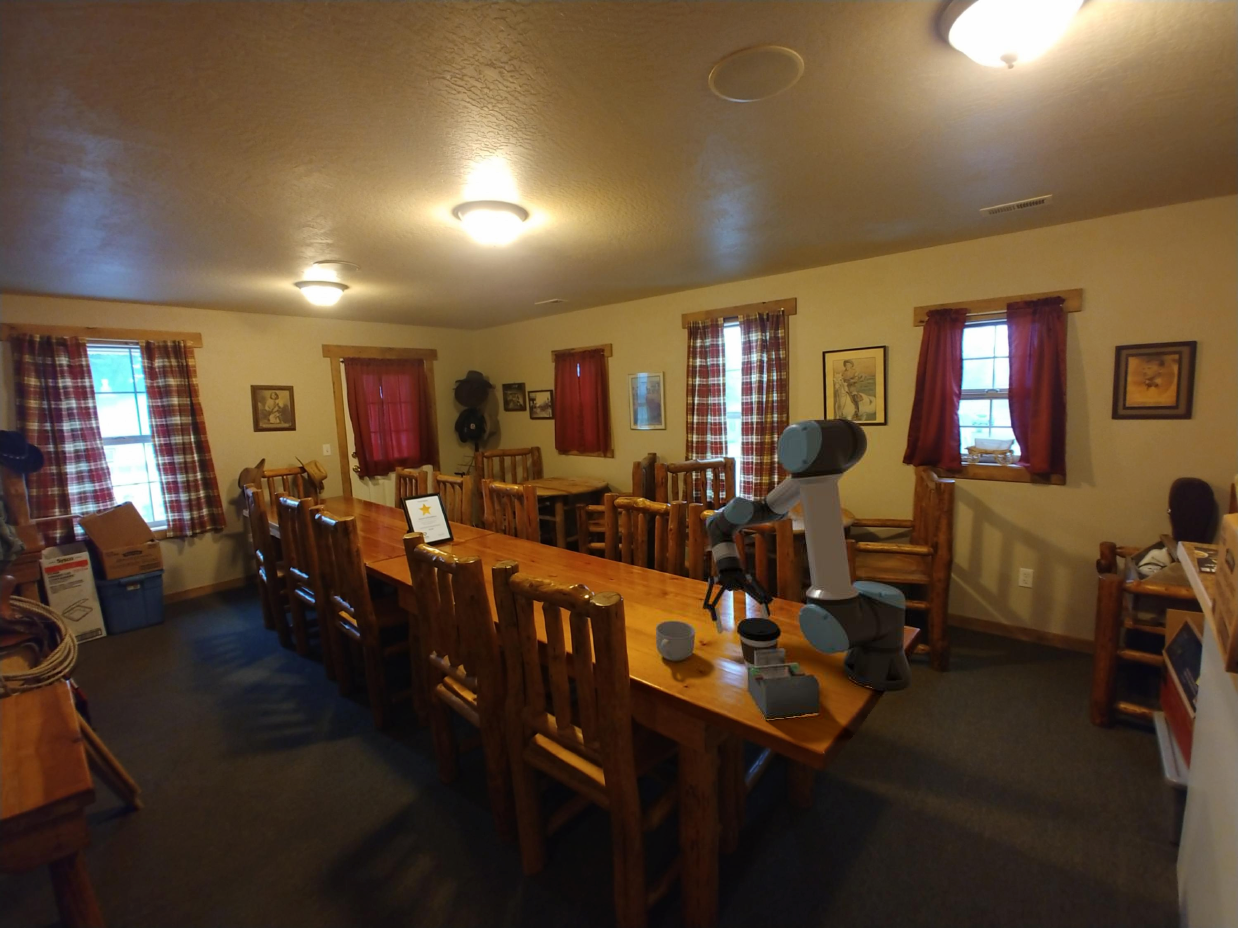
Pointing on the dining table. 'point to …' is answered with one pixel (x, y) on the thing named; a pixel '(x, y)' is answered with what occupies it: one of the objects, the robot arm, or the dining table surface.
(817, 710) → the grey box
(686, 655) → the teacup
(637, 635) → the dining table surface
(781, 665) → the grey bracket with plate
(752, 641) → the coffee cup
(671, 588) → the dining table surface
